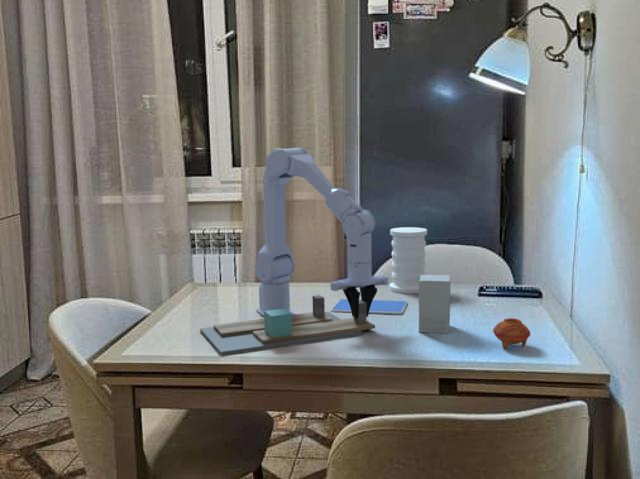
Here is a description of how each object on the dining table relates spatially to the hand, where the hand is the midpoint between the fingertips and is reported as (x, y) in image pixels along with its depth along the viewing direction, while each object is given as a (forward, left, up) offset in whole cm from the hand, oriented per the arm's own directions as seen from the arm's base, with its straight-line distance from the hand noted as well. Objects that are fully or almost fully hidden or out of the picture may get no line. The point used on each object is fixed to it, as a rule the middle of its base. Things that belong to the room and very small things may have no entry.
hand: (360, 316), depth 170 cm
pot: (+27, +24, -3) cm, 36 cm away
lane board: (-5, -19, -3) cm, 20 cm away
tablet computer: (-17, +11, -4) cm, 21 cm away
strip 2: (0, -12, -3) cm, 12 cm away
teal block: (0, -21, -1) cm, 21 cm away
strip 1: (-10, -19, -3) cm, 21 cm away
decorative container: (-31, +31, -3) cm, 44 cm away
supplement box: (+8, +16, -3) cm, 18 cm away
